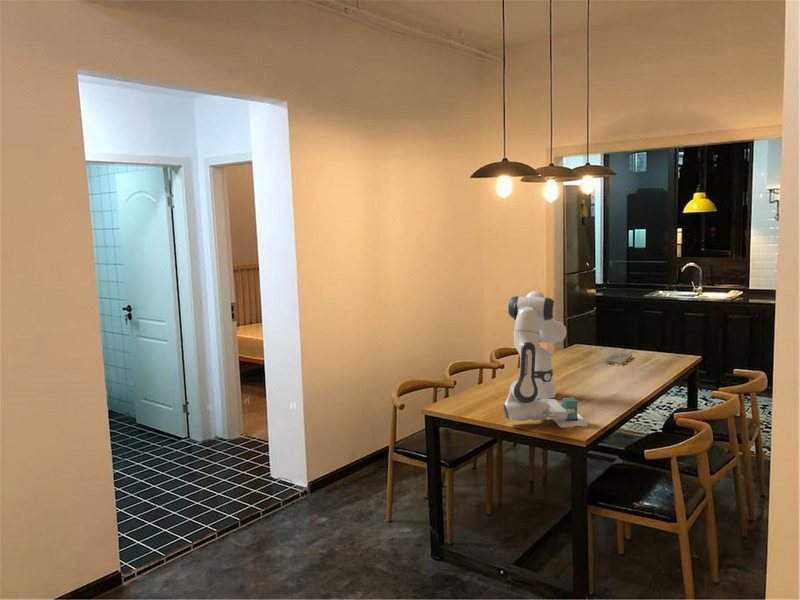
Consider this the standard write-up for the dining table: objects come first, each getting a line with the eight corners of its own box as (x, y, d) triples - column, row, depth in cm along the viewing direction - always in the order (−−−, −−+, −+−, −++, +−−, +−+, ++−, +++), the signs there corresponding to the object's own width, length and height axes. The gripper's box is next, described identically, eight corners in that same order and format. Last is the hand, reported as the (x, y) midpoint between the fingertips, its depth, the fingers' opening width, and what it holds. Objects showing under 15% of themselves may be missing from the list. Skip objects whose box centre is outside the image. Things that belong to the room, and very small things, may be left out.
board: (546, 411, 300) (546, 408, 300) (571, 410, 300) (571, 407, 300) (560, 427, 276) (560, 424, 276) (587, 426, 276) (587, 422, 276)
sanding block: (562, 417, 285) (562, 398, 284) (574, 417, 285) (574, 397, 284) (565, 421, 279) (565, 401, 278) (577, 420, 279) (577, 400, 278)
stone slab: (634, 352, 414) (623, 359, 389) (633, 358, 415) (623, 366, 389) (614, 351, 421) (603, 357, 395) (614, 357, 421) (603, 364, 395)
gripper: (546, 409, 271) (579, 408, 271) (535, 396, 291) (565, 395, 291) (546, 423, 271) (579, 422, 272) (535, 410, 292) (565, 409, 292)
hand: (572, 408), depth 282 cm, fingers closed on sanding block, 5 cm apart
